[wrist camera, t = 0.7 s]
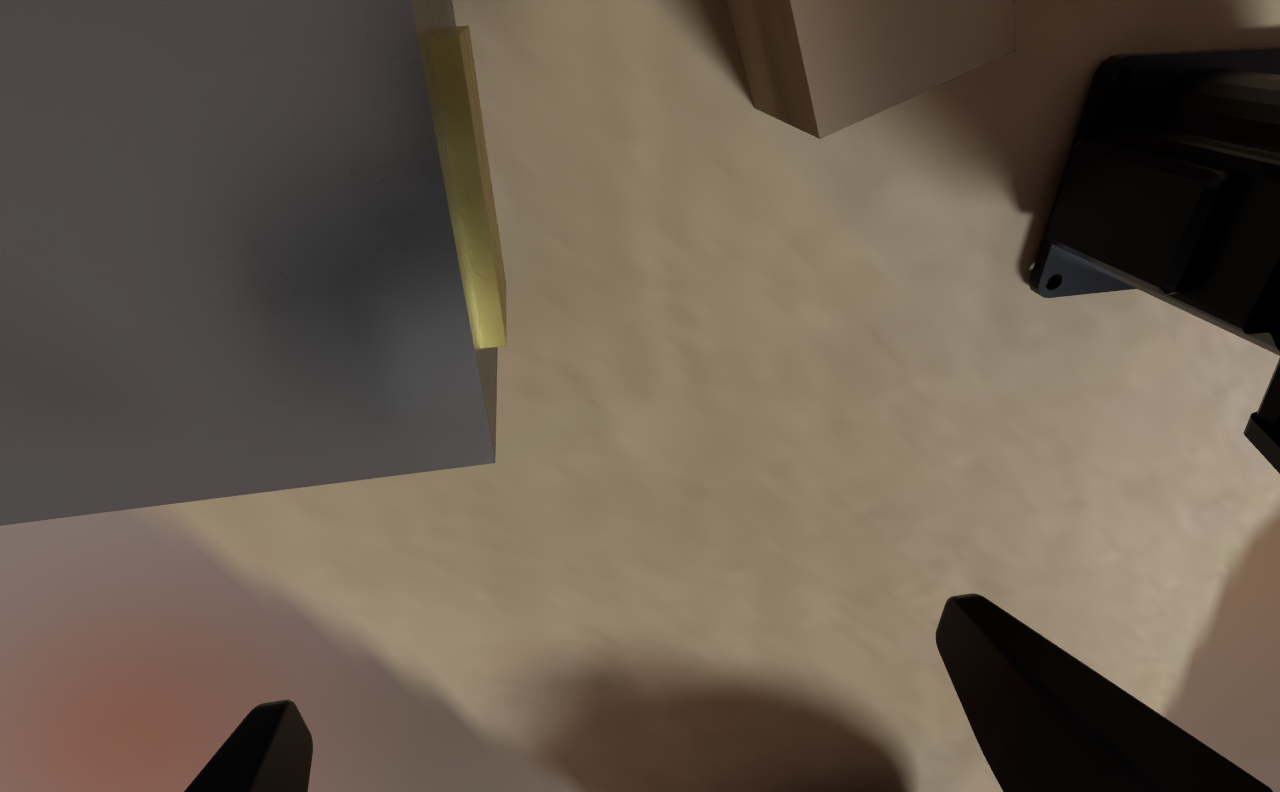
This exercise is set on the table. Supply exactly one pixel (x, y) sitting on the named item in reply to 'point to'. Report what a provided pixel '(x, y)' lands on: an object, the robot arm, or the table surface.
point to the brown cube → (861, 53)
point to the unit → (240, 250)
